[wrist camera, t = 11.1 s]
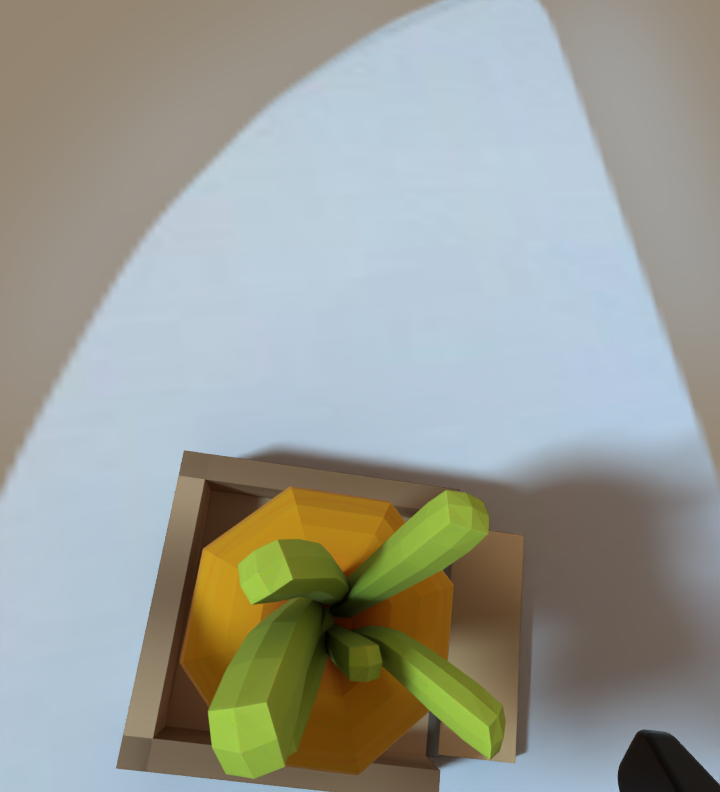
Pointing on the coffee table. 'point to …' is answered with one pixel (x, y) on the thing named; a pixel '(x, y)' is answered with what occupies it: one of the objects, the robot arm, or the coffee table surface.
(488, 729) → the carrot
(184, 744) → the wooden tray
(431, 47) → the coffee table surface
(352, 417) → the coffee table surface
